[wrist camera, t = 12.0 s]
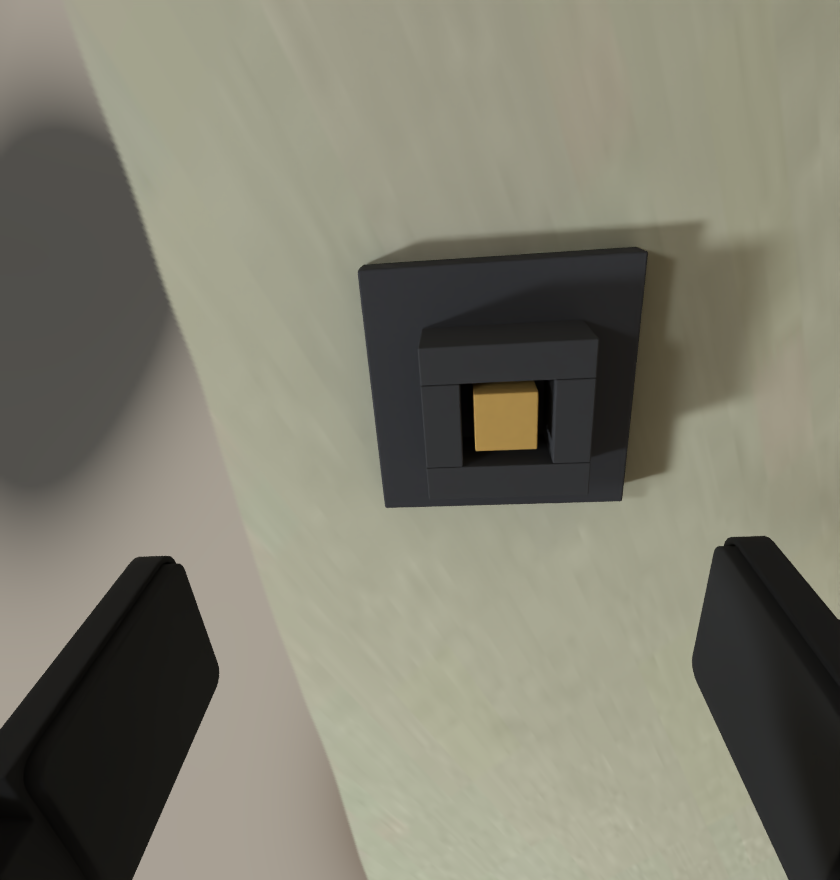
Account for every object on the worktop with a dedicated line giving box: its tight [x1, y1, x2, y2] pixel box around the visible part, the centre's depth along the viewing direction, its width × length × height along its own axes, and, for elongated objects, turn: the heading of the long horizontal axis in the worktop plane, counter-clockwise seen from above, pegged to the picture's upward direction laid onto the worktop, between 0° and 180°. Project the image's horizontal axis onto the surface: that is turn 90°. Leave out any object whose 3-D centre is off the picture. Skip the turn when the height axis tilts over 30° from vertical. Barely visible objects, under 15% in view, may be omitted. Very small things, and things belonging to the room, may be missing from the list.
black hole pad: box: [418, 320, 599, 499], centre depth 24 cm, size 7×7×3 cm
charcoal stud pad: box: [358, 247, 648, 508], centre depth 25 cm, size 12×12×4 cm
